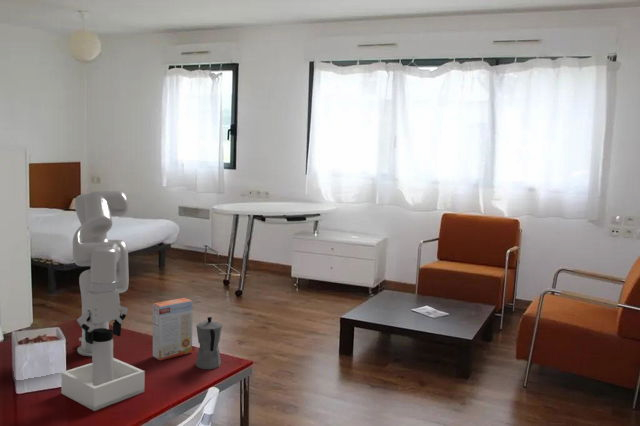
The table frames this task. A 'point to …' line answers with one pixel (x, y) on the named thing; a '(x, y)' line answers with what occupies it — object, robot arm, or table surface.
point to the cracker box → (172, 328)
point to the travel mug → (102, 356)
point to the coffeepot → (208, 344)
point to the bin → (102, 385)
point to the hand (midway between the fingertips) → (103, 338)
